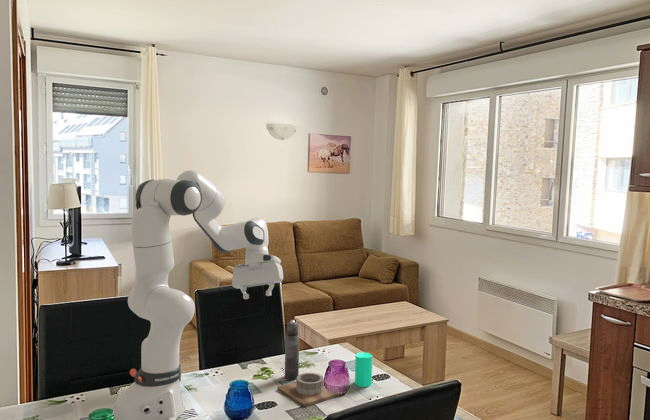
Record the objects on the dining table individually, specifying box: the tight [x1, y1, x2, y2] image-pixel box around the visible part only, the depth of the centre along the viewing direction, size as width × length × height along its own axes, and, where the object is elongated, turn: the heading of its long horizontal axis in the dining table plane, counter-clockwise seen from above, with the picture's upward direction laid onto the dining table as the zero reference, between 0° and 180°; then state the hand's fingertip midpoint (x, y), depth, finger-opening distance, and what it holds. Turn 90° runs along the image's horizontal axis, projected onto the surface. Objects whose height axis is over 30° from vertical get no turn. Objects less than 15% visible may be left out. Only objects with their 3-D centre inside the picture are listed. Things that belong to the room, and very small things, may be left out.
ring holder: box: [276, 372, 340, 408], centre depth 171 cm, size 16×16×5 cm
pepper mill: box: [284, 319, 300, 381], centre depth 182 cm, size 5×5×21 cm
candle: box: [354, 352, 373, 388], centre depth 179 cm, size 6×6×12 cm
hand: (257, 297), depth 185 cm, fingers open, 8 cm apart
